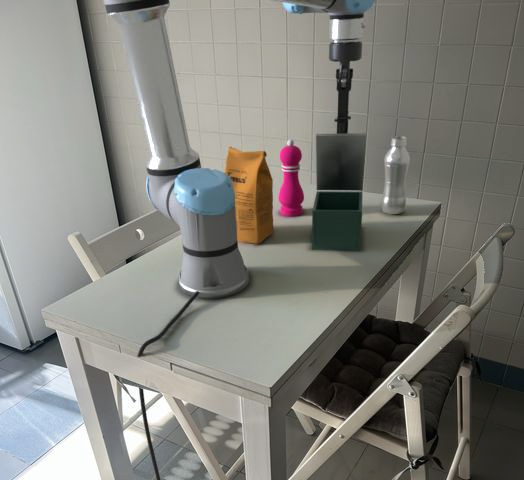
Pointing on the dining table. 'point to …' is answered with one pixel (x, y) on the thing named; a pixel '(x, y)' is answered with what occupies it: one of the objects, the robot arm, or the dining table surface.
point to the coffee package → (251, 194)
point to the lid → (340, 161)
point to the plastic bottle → (395, 176)
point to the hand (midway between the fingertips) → (341, 148)
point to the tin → (337, 220)
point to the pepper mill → (291, 181)
